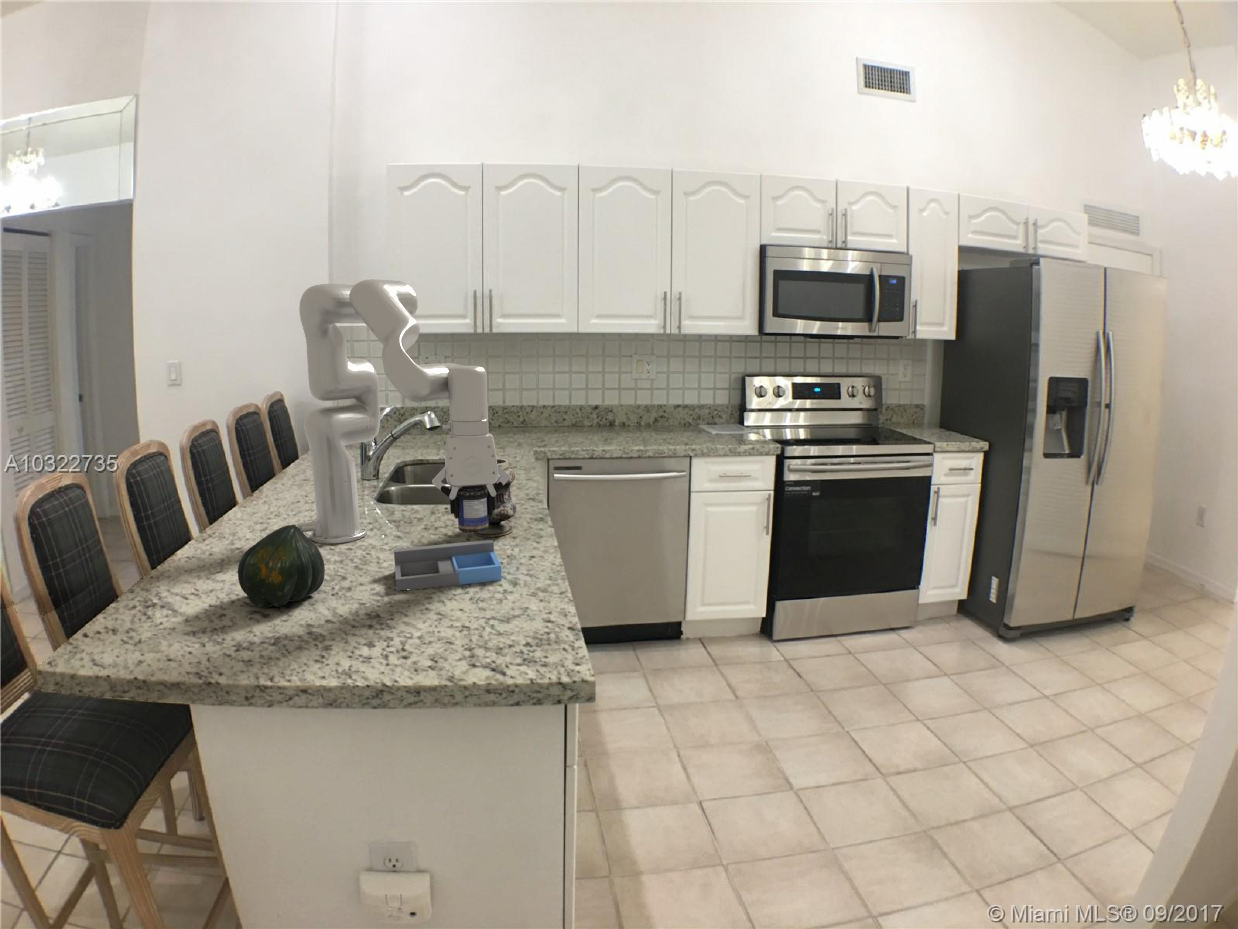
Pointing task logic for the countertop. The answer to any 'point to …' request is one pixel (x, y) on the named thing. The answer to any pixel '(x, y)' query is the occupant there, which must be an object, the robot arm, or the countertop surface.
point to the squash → (281, 568)
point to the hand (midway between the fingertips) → (473, 514)
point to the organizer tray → (446, 565)
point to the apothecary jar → (501, 506)
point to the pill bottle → (472, 509)
